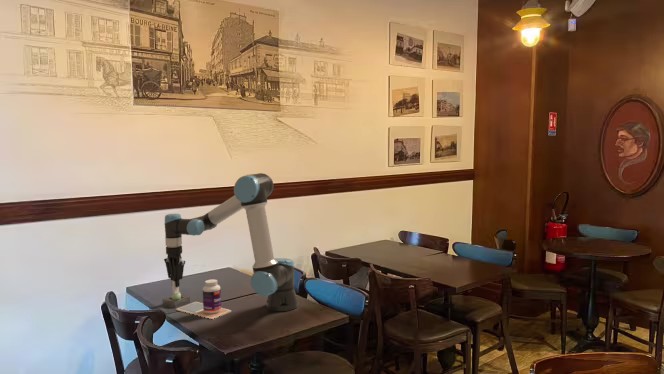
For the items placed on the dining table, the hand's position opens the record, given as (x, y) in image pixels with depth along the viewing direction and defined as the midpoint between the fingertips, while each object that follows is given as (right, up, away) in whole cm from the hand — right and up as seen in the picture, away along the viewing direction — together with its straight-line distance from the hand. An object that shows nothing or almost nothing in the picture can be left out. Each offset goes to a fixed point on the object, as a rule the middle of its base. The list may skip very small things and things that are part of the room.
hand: (175, 293), depth 233 cm
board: (+16, -6, -10) cm, 20 cm away
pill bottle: (+21, -6, -13) cm, 25 cm away
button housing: (0, -5, 0) cm, 6 cm away
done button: (0, -4, 0) cm, 4 cm away
